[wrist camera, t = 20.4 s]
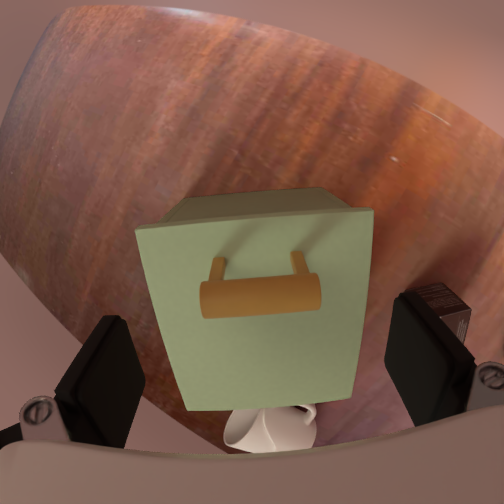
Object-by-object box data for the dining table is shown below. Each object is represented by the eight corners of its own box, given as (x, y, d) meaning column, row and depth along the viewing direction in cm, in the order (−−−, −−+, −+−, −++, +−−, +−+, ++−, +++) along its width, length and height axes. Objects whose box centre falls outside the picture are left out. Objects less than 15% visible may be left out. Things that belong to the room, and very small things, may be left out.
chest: (183, 198, 32) (146, 231, 20) (321, 187, 31) (362, 214, 20) (203, 329, 37) (188, 403, 25) (322, 320, 37) (348, 391, 25)
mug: (276, 434, 44) (280, 474, 36) (224, 415, 42) (221, 458, 35) (326, 389, 41) (338, 432, 33) (271, 365, 39) (276, 410, 31)
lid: (138, 225, 19) (101, 268, 13) (369, 206, 18) (413, 243, 13) (188, 404, 25) (179, 457, 20) (348, 391, 25) (364, 443, 20)
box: (436, 321, 37) (462, 351, 30) (399, 329, 37) (422, 363, 31) (442, 281, 35) (473, 308, 28) (403, 288, 35) (431, 319, 28)
